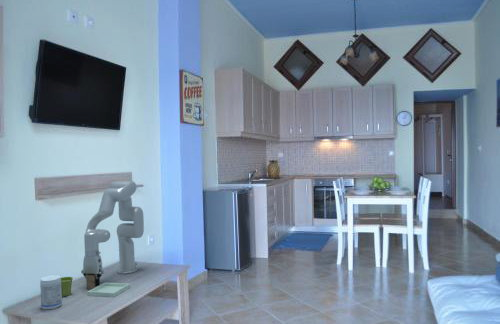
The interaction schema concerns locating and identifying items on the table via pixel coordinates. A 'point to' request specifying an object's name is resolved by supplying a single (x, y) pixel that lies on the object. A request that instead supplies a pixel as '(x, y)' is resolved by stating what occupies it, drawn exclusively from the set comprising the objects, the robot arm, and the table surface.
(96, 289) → the sage tray
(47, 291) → the supplement tub
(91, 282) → the walnut block
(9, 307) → the table surface
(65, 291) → the plant pot
